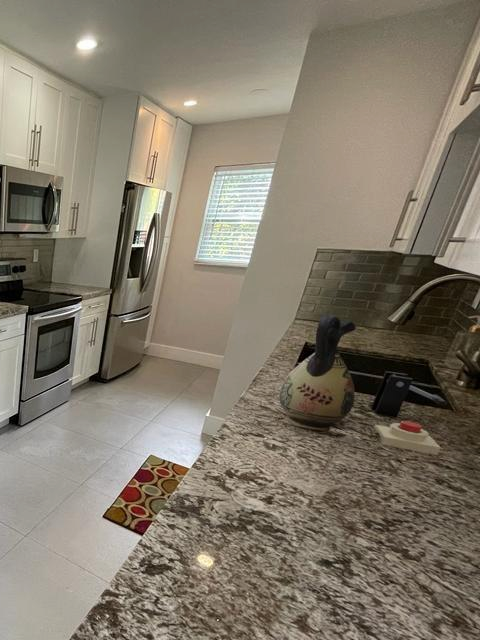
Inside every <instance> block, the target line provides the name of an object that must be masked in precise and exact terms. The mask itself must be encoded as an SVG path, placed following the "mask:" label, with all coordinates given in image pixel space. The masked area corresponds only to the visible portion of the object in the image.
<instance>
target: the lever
mask: <svg viewBox="0 0 480 640" xmlns="http://www.w3.org/2000/svg"><path fill="white" fill-rule="evenodd" d="M392 376H396V375H394V374H393V375H392ZM387 382H388V380H387ZM408 391H412V392H414V393H416V394H418V395H420V396H422V397H425V398H427V399H429V400H432V401H433V402H434V403H436V404H437V406H439V407H445V406H446V405H447V401H445V400H444V399H443V398H442V397H440V395H438V394H434V393H433V394H431V393H429V392H426V391H425V390H422V389H420V388H418V387H416V386H413V385H412V384H411V385H410V388H409V390H408Z"/></svg>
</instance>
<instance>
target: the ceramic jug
mask: <svg viewBox="0 0 480 640" xmlns="http://www.w3.org/2000/svg"><path fill="white" fill-rule="evenodd" d="M356 328H357V326H356V325H355V323H354V322H352V321H350V320H346V321H343V322H341V319H340V318H339V317H338V316H334V315H326V316H322V317H321V318H320V320H319V321H318V323H317V327H316V330H315V332H316V333H315V347H314V348H315V350H314V353H312V354H311V355H309V356H308V357H306V358H305V359H304V360H302V361H301V362H300V363H299V364H298V365H296V366H295V367H294V368H293V369H292V370H291V371H290V372H289V374H287V376H286V377H285V379H284V380H283V382H282V384H281V386H280V388H279V393H278V400H279V404H280V407H282V409H283V411H284V412H285V414H286V418H287V421H288V423H290V424H292V425H293V426H295V427H300V428H304V429H309V430H314V431H319V432H324V431H329V430H331V426H333V425H335V424H336V423H339V422H340V421H342V420H343V419H344V418H345V417H347V416H348V414H350V412H351V411H352V409H353V407H354V403H355V395H356V393H355V384H354V380H353V378H352V375H351V373H350V371H349V368H348V367H347V365H346V363H345V361H344V359H343V358H342V356H341V355H340V351H339V350H338V345H339V343H340V340H341V338H342V337H343V336H345V335H347V334H349V333H351V332H354V331H355V330H356ZM293 432H294V431H292V433H293Z"/></svg>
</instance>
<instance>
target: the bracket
mask: <svg viewBox="0 0 480 640" xmlns="http://www.w3.org/2000/svg"><path fill="white" fill-rule="evenodd" d="M393 374H394V375H396V376H392V375H393ZM387 380H388V382H387ZM413 381H414V379H413V378H412V377H408V373H401V372H395V371H394V372H393V371H384V374H383V377H382V379H381V381H380V383H379V387H378V389H377V391H376V394H375V396H374V399H373V401H372V404H371V406H370V409H372V410H375V411H374V414H375V415H380V416H386V417H391V418H397V417H398V415H399V413H400V410H401V408H402V406H403V403H404V402H405V399H406V397H407V394H408V392H409V391H410V390H409V388H410V385H411V386H412V383H413Z"/></svg>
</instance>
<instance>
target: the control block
mask: <svg viewBox="0 0 480 640" xmlns="http://www.w3.org/2000/svg"><path fill="white" fill-rule="evenodd" d="M400 423H401V422H400ZM400 423H399V422H393V423H391V424H390V425H389V426H385V425H380V424H374V426H373V428H374V429H375V431H376V432H377V433H378V434H379V435H376V434H375V435H374V436H375V437H376V439H377V440H378V442H379V444H380V445H383V446H384V445H385V446H389V447H394V448H398V449H404V450H409V451H414V452H418V453H423V454H429V455H433V456H438V455H439V453H440V451H441V449H442V448H441V446H440V445H439V444H438V443H437V442H436V441H435V440H434V439H433V437H431V436H430V434H429V432H428V431H427V430H425V429H422V428H421V430H420V432H419V433H413V432H408V431H405V430H402V429H400V428H399V426H400Z"/></svg>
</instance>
